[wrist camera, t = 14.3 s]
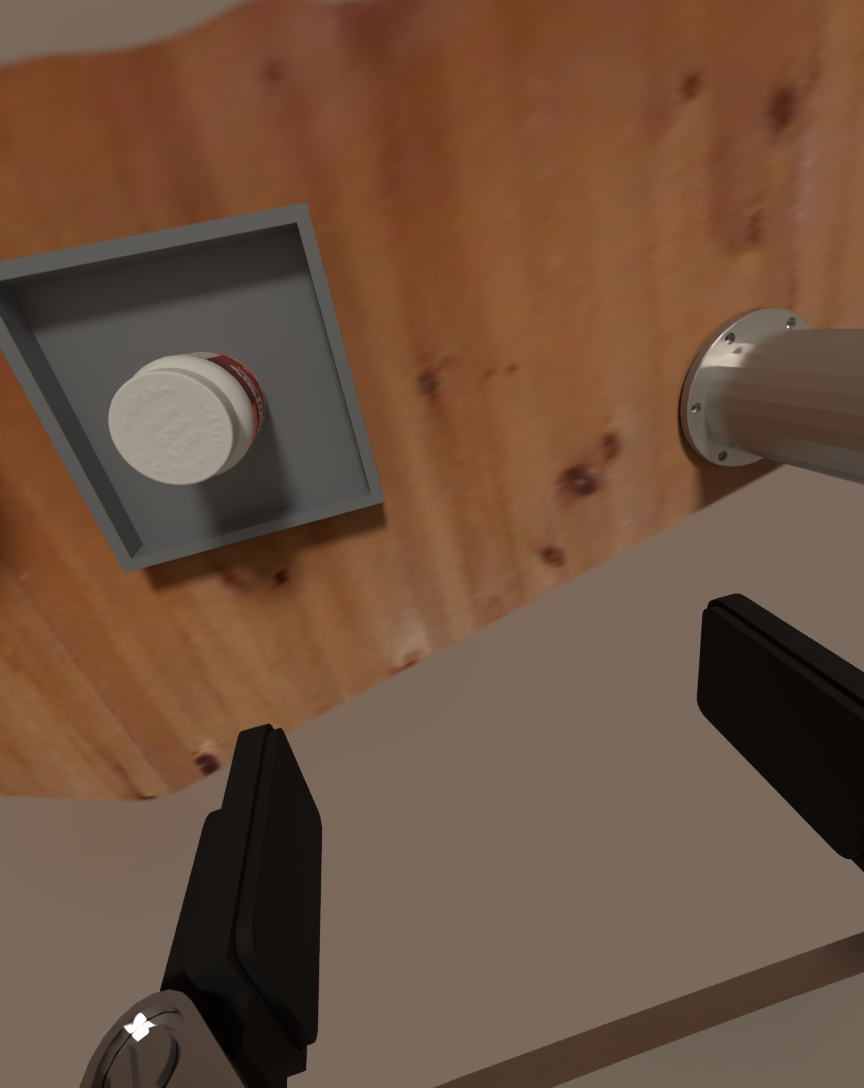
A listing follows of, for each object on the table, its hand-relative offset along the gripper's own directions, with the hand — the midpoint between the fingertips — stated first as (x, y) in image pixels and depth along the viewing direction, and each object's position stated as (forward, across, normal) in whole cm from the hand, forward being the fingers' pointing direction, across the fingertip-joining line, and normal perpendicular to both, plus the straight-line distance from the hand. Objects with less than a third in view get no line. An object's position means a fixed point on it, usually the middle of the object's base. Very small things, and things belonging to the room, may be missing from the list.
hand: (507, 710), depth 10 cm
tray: (+28, +10, -5) cm, 30 cm away
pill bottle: (+27, +10, -5) cm, 30 cm away
